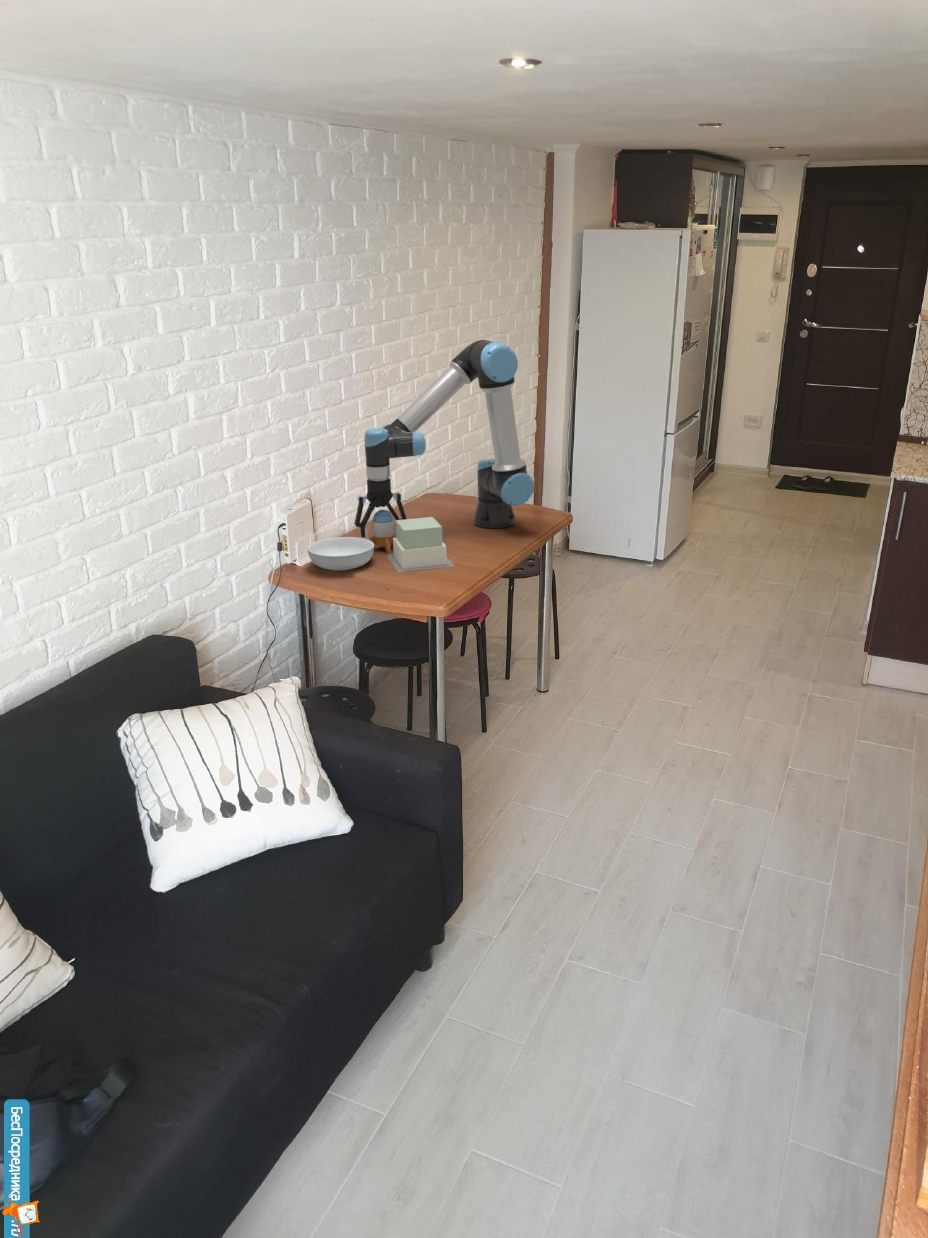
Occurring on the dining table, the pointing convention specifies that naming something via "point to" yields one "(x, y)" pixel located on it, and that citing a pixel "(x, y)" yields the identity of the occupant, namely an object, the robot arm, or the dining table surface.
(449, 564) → the base plate
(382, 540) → the toy rocket
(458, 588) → the dining table surface
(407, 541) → the upper brick
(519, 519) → the dining table surface
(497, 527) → the robot arm
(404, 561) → the lower brick
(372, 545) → the serving bowl
